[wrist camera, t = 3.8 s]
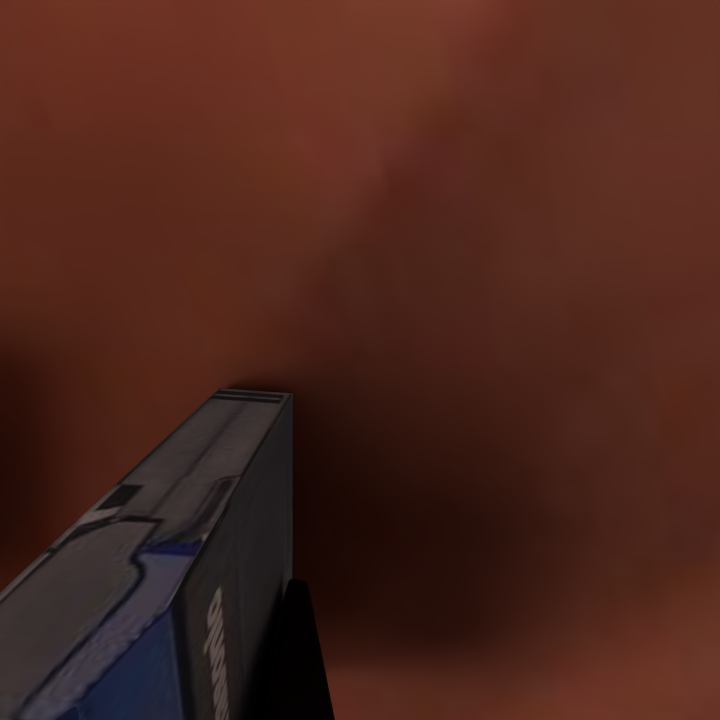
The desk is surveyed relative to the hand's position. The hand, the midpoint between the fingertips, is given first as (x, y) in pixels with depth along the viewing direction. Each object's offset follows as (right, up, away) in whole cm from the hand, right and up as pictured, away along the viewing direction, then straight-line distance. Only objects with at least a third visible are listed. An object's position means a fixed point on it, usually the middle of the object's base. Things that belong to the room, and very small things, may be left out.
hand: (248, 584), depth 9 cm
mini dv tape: (0, 0, +1) cm, 1 cm away
